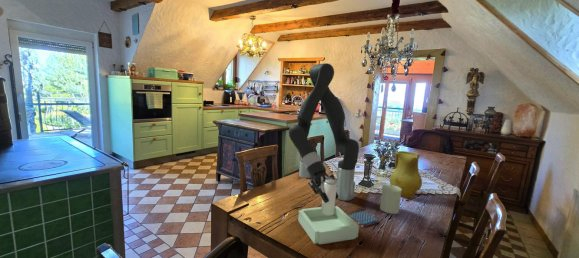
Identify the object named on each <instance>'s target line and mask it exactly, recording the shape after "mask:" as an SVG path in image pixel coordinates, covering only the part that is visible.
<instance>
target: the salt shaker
mask: <svg viewBox="0 0 579 258" xmlns="http://www.w3.org/2000/svg"><path fill="white" fill-rule="evenodd" d="M336 180H337V179H335V180H334V179H325V181H324V193H326V195H327V197H328V199H329V201H328V202H327V203H325V202H324V201H323V199H322V198H321V199H322V200H321V206H320V207H321V212H322V213H323V214H325V215H333V214H334V209H335V206H336V200H335V198H336V188H337V183H336Z"/></svg>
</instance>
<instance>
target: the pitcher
mask: <svg viewBox="0 0 579 258" xmlns="http://www.w3.org/2000/svg"><path fill="white" fill-rule="evenodd" d="M420 156H421V154H420V153H417V152H412V151H405V150H398V151H396V152H395V157H394V159H395V161H394V165H395V167H394V168H395V169H394V170H393V171H392V173H391V174H390V178H389V179H390V180H389V185H394V186H397V187H399V188H401V189H402V191H401V198H406V199H413V198H415V197H416V195H415V194H416V193H417V191H419V190H421V188H422V186H423V185H422V184H423V180H422V177H421V174H420V173H419V171H420V170H419V159H420Z"/></svg>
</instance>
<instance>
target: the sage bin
mask: <svg viewBox="0 0 579 258" xmlns="http://www.w3.org/2000/svg"><path fill="white" fill-rule="evenodd" d="M321 207H322V206H318V207H311V208H310V207H309V208H301V209H300V210H298V223H299V224H300V226H301V227H302V228H303V230H304V231H305V233H306V234H307V236H308V237H309V238H310V239H311V241H312V243H313V244H316V245H317V244H318V245H324V244H326V245H327V244H331V243H337V242H344V241H350V240H356V238H358V237H359V228H360V225H359V224H358V223H356V222H355V221H353V220H352V219H351V218H350V217H349V216H348V215H349V214H347V213H346V212H345V211H343V209H341V208H340V207H339V206H337V205H335V209H334V214H333V215H325V214H323V213H322V212H321Z"/></svg>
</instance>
